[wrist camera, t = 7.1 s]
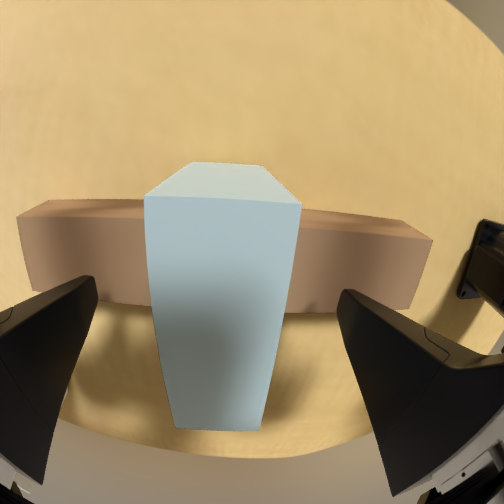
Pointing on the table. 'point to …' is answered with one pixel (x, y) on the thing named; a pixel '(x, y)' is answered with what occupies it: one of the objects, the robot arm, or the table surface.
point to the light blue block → (219, 288)
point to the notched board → (303, 271)
